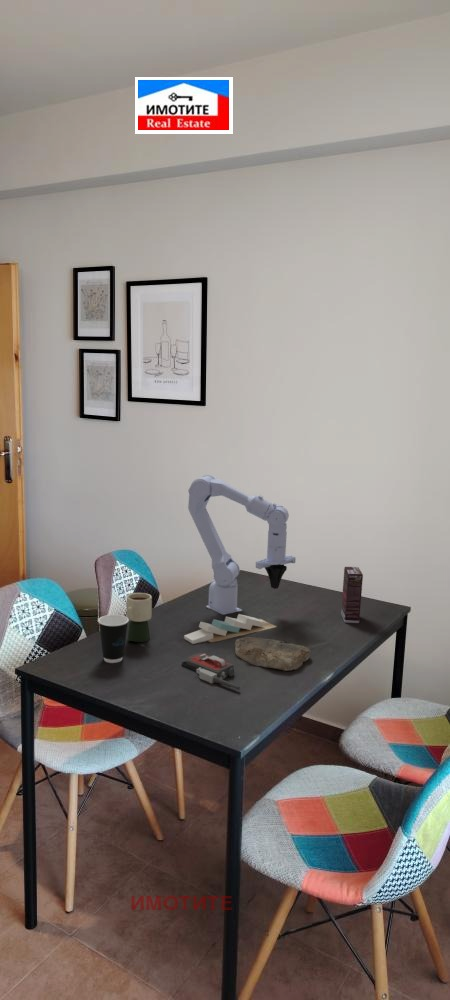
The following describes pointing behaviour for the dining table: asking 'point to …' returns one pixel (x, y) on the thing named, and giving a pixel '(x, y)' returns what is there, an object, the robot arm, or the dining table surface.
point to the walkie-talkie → (211, 668)
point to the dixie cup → (113, 636)
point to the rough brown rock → (271, 653)
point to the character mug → (139, 616)
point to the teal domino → (225, 626)
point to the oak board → (241, 632)
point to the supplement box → (351, 594)
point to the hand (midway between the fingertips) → (274, 587)
